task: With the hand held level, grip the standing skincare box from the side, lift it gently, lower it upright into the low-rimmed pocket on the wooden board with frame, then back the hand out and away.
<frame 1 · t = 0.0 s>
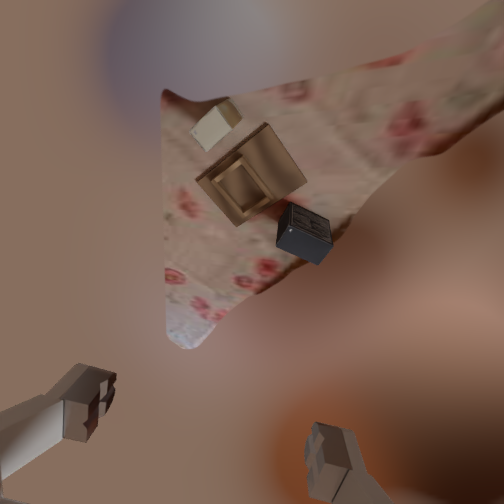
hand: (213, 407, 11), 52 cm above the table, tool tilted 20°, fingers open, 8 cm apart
skincare box: (226, 117, 53), on the table
wooden board with frame: (251, 181, 60), on the table
small box: (303, 221, 64), on the table
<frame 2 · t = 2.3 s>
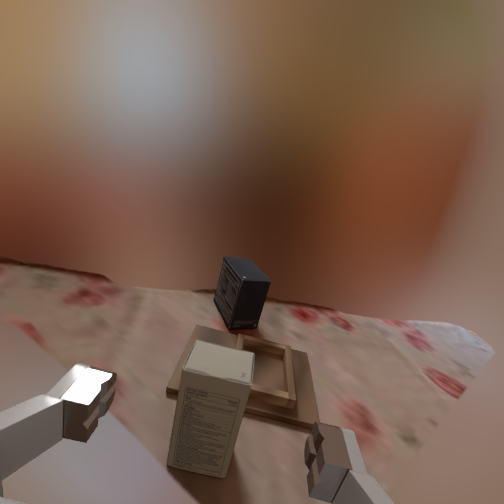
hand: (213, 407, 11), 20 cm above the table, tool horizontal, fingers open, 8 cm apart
skincare box: (199, 452, 29), on the table
wooden board with frame: (247, 371, 41), on the table
small box: (234, 314, 55), on the table
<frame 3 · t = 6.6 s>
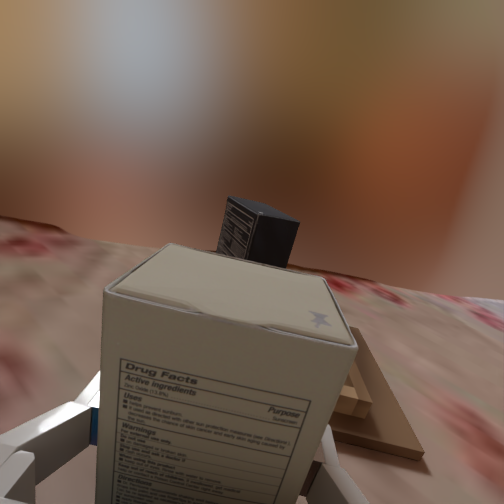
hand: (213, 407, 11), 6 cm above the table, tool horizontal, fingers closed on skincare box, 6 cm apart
wooden board with frame: (271, 353, 24), on the table
small box: (243, 279, 39), on the table
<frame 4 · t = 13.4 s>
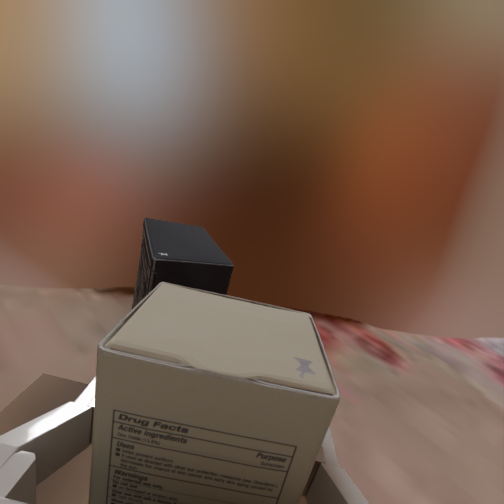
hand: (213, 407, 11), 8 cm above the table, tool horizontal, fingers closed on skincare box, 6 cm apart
small box: (167, 338, 27), on the table
when the fingers open (8 cm above the table, at t = 14.0 s): skincare box stays where it is, resting on wooden board with frame.
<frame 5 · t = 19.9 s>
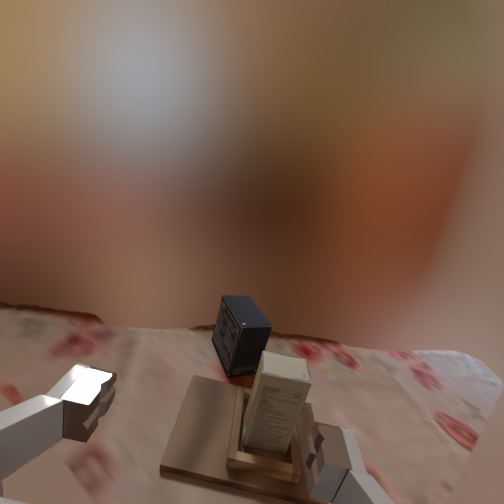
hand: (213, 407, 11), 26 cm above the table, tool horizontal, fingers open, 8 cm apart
skincare box: (262, 435, 38), point 1 cm above the table, touching wooden board with frame
wooden board with frame: (247, 432, 38), on the table
small box: (233, 356, 52), on the table
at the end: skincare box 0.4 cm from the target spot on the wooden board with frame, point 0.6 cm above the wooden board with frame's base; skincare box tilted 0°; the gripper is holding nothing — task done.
